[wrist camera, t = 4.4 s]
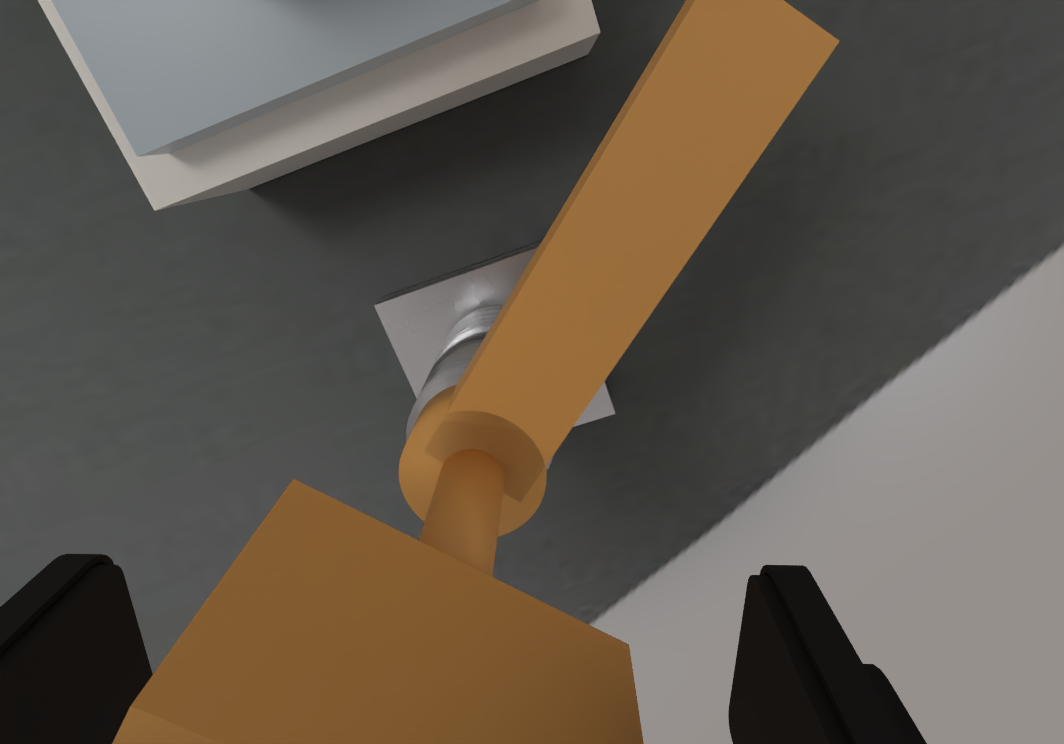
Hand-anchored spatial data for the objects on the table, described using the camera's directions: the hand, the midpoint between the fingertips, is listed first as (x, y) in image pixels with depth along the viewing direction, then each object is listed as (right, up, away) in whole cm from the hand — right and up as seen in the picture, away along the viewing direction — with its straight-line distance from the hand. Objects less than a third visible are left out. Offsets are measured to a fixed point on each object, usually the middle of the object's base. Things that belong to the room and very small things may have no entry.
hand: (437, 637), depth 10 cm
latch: (+2, +6, +4) cm, 8 cm away
